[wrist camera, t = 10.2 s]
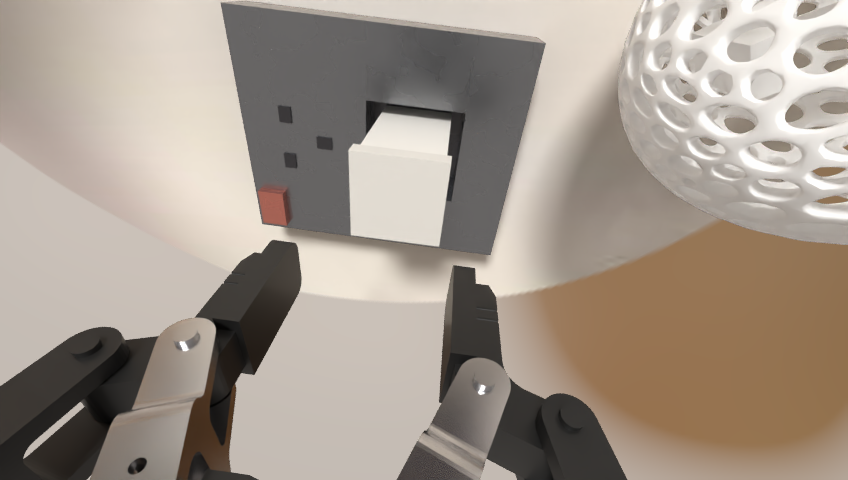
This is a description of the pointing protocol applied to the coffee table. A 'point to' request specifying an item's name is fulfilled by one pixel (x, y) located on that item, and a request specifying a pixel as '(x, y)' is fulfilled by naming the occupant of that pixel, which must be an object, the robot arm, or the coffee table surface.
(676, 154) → the decorative heart
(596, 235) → the coffee table surface
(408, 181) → the plug
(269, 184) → the socket plate
